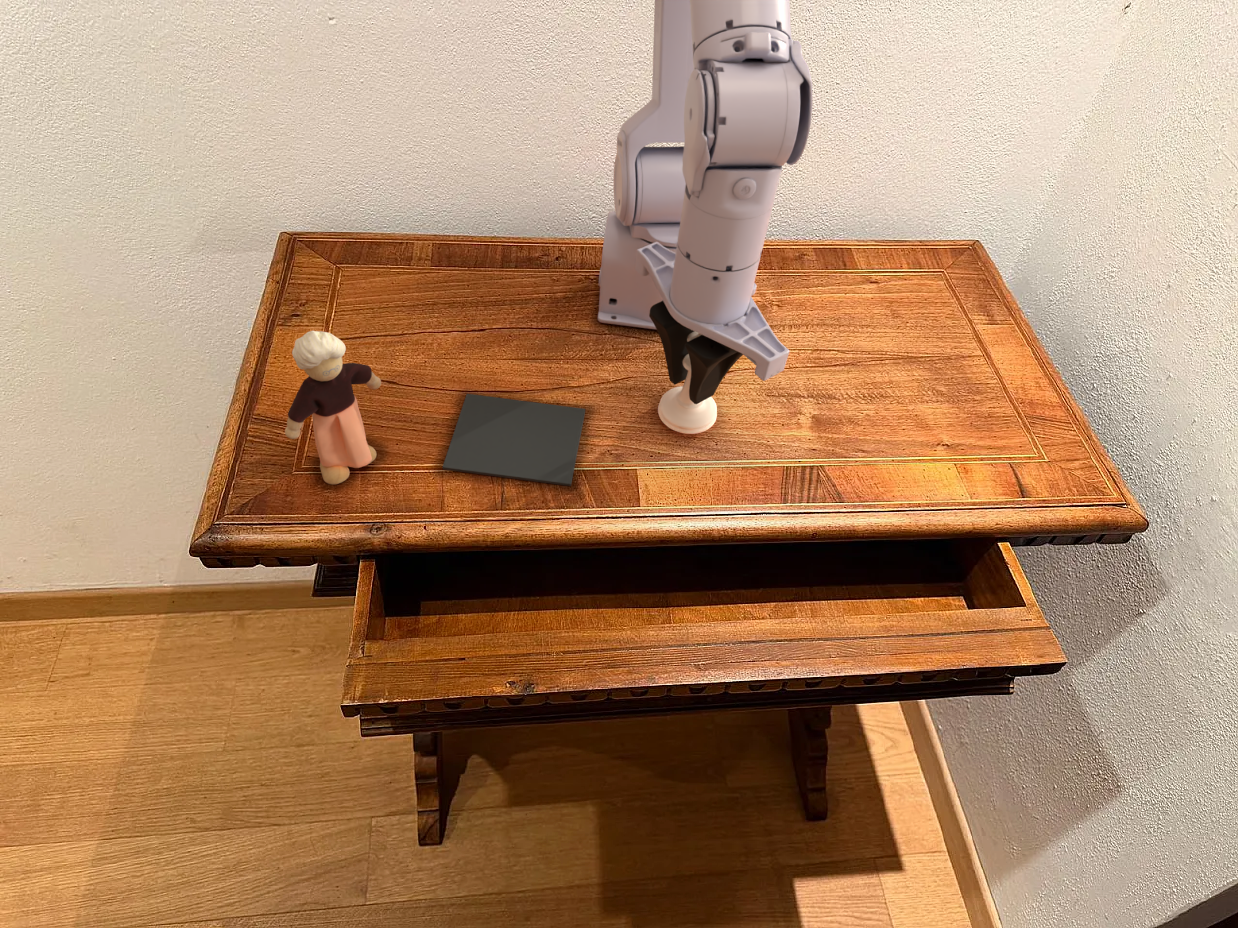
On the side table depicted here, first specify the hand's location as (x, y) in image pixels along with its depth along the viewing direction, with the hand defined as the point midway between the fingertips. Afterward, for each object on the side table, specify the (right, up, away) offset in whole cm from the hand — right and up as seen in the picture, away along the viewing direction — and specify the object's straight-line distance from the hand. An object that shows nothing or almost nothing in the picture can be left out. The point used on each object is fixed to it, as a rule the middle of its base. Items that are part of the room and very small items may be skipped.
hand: (691, 387), depth 64 cm
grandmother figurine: (-26, -6, -2) cm, 27 cm away
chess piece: (0, -2, +2) cm, 3 cm away
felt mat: (-14, -4, 0) cm, 15 cm away
